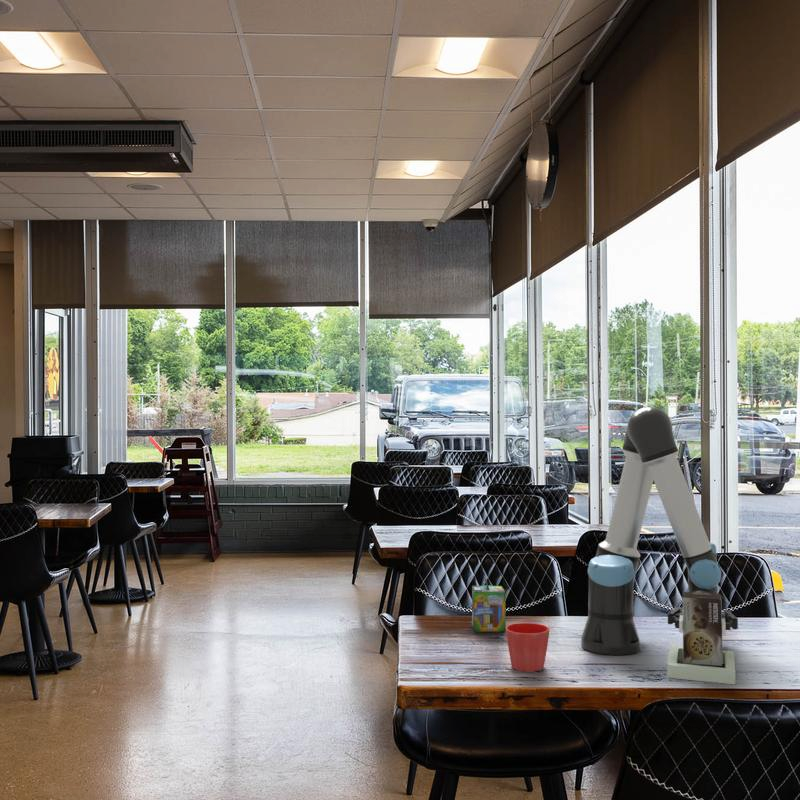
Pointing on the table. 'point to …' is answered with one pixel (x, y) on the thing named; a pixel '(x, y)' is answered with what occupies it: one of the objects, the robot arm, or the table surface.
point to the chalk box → (488, 608)
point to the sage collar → (701, 668)
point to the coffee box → (702, 628)
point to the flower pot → (527, 645)
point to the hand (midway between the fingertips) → (702, 628)
